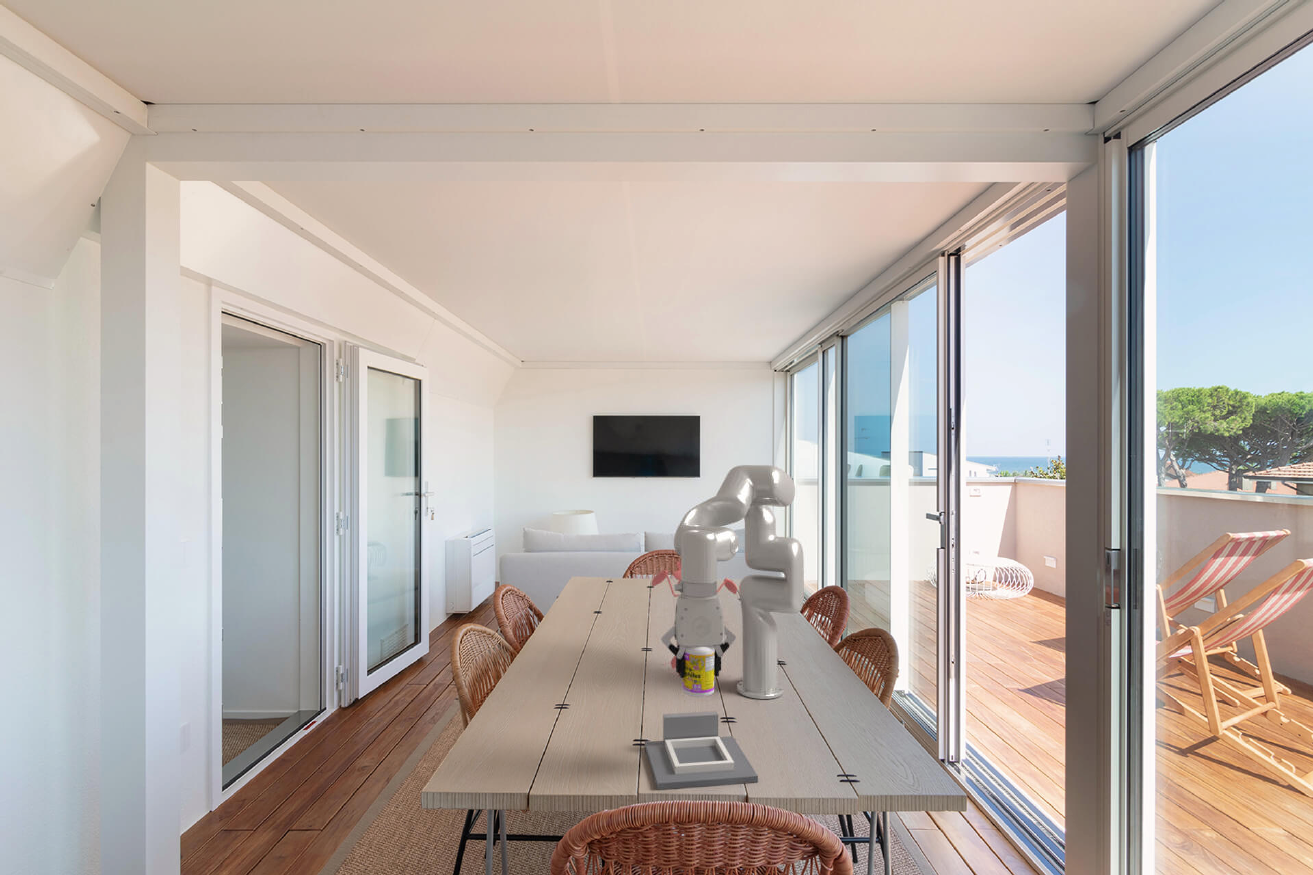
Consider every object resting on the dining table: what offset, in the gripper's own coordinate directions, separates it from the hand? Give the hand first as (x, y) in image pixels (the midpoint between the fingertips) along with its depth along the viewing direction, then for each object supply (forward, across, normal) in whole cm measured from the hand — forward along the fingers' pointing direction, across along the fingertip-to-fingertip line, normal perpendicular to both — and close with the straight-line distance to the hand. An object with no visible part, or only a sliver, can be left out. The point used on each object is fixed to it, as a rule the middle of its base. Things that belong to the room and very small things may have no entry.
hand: (698, 674), depth 131 cm
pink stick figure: (+19, +12, +59) cm, 63 cm away
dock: (+18, 0, 0) cm, 18 cm away
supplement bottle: (+4, 0, 0) cm, 4 cm away
